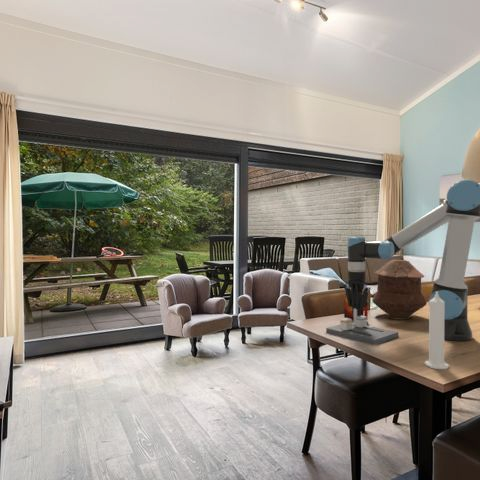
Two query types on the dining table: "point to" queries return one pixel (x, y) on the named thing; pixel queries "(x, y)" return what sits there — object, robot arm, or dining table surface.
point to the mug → (349, 310)
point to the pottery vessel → (399, 289)
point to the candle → (436, 333)
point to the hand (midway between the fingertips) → (356, 322)
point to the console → (364, 333)
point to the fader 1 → (346, 324)
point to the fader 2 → (361, 321)
